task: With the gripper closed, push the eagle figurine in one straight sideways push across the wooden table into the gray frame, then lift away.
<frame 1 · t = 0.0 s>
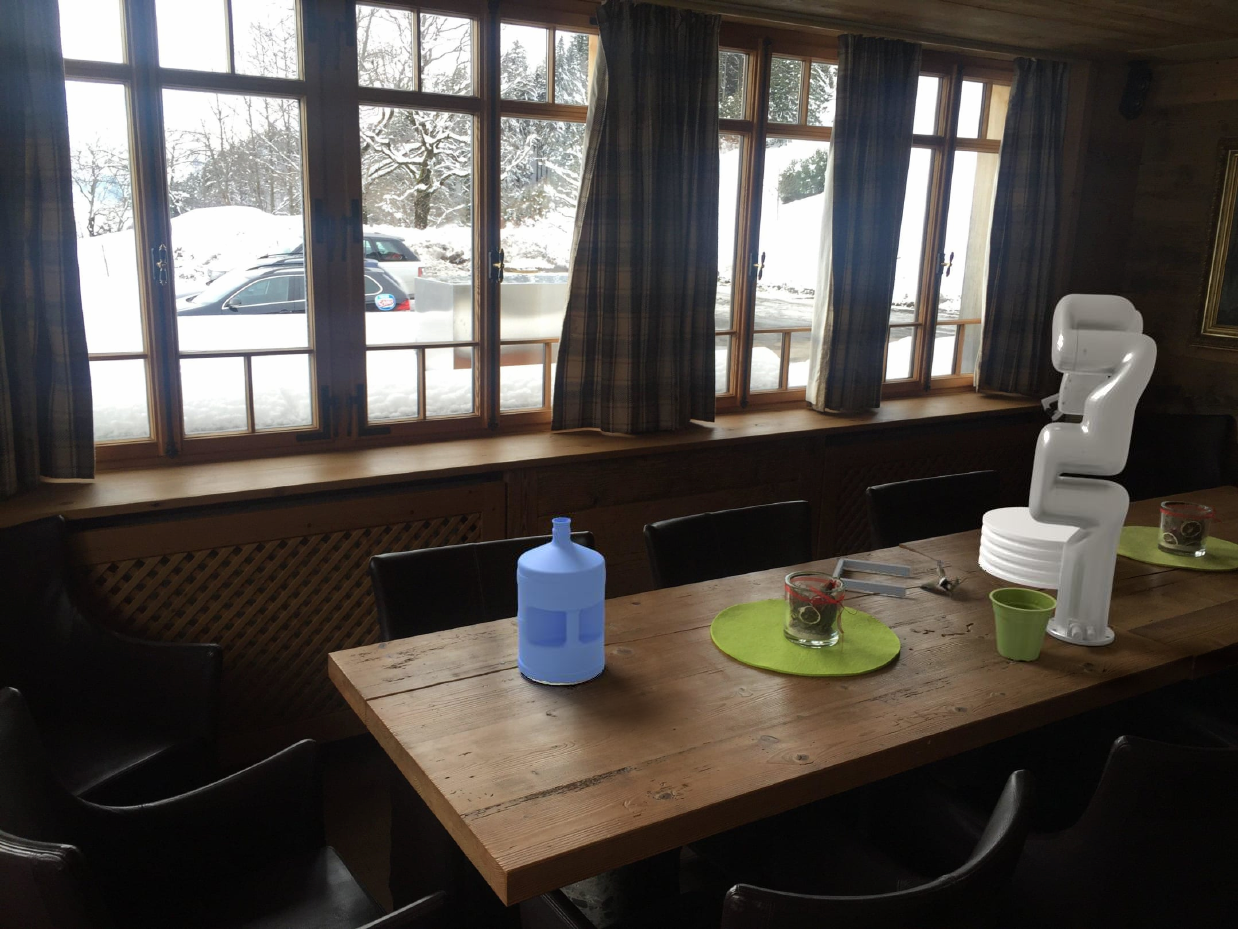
hand: (1077, 437, 234), 31 cm above the table, tool pointing down, fingers open, 9 cm apart
plate stack: (1040, 570, 238), on the table
gray frame: (870, 582, 227), on the table
water jug: (561, 670, 181), on the table
plant pot: (1016, 655, 190), on the table
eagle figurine: (939, 592, 222), on the table
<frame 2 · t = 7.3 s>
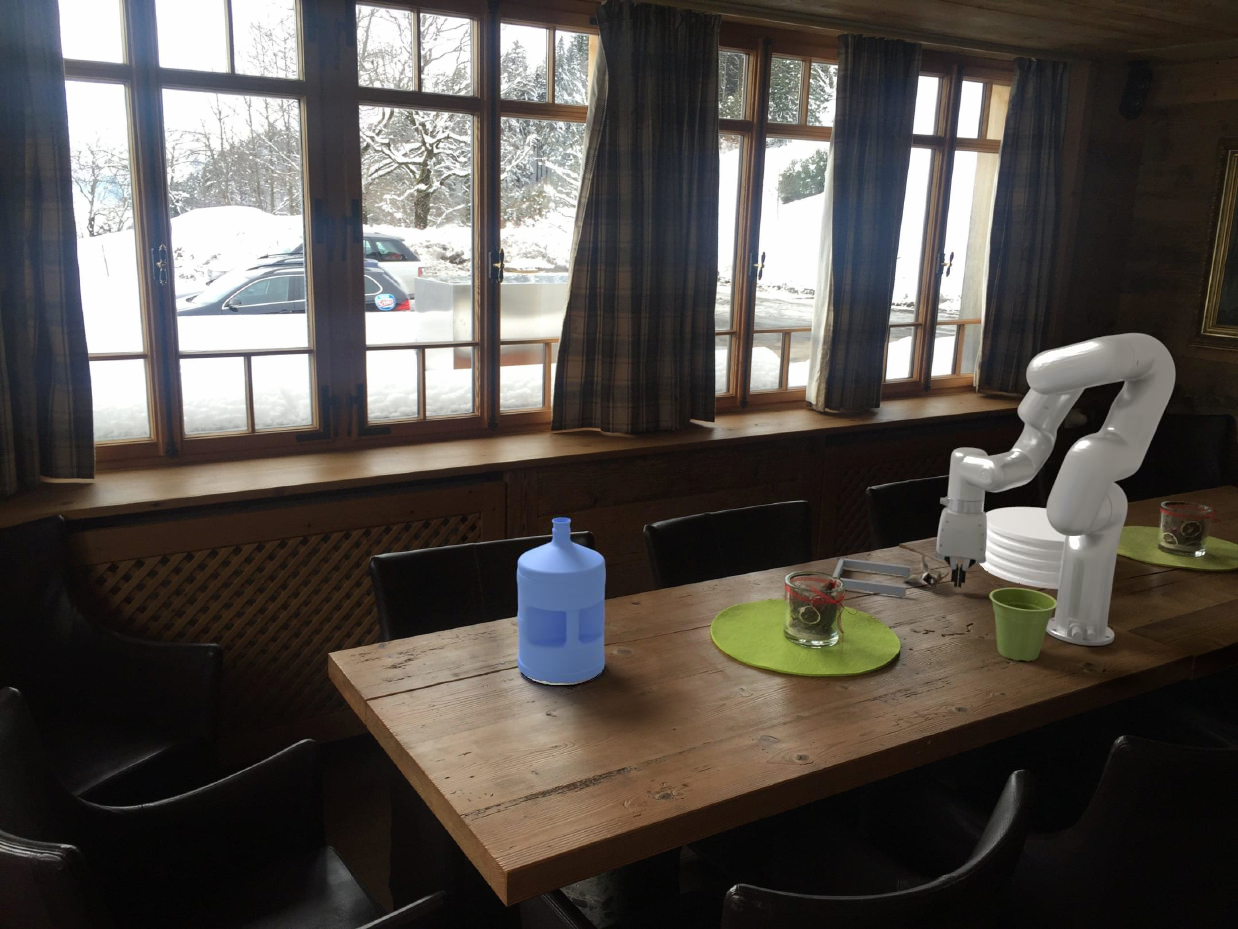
hand: (957, 585, 220), 2 cm above the table, tool pointing down, fingers closed
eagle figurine: (922, 587, 225), on the table, touching gripper
everything else where it was.
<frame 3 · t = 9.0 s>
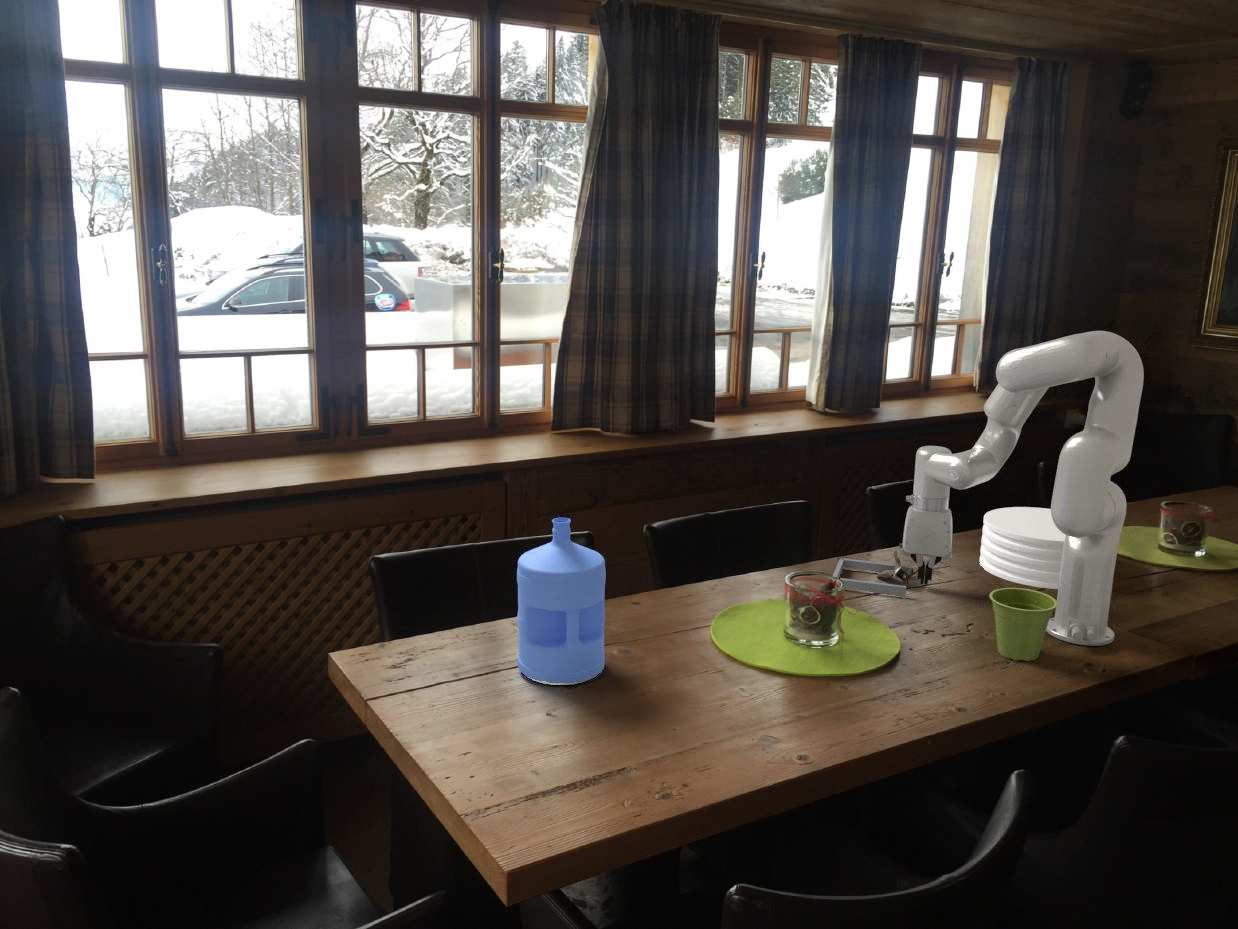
hand: (924, 582, 223), 2 cm above the table, tool pointing down, fingers closed
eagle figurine: (895, 582, 228), on the table, touching gripper
everything else where it was.
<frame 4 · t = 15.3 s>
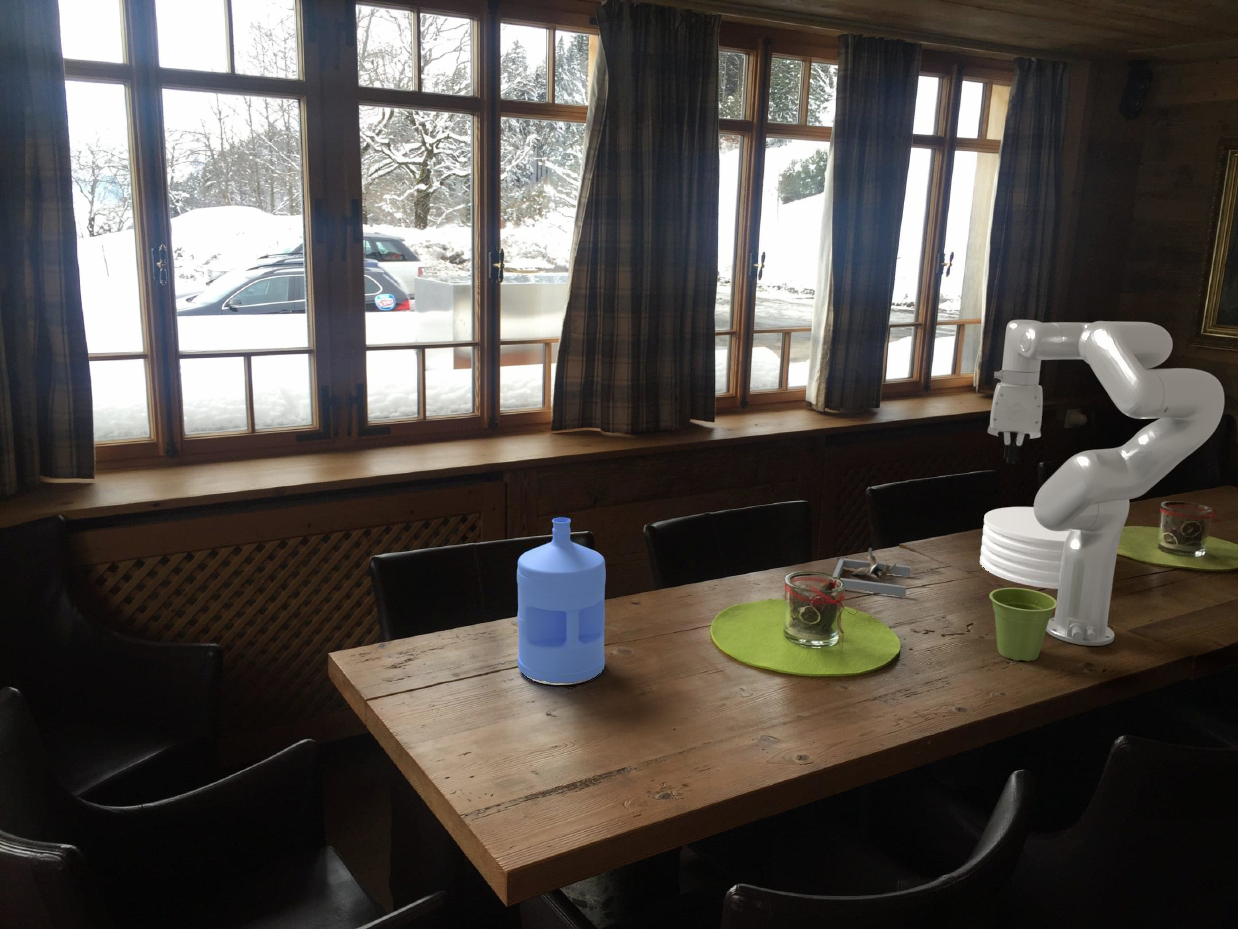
hand: (1010, 461, 218), 29 cm above the table, tool pointing down, fingers closed
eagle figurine: (870, 579, 230), on the table
everything else where it was.
at the end: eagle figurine inside the target area on the gray frame (3.2 cm from its centre), point 0.0 cm above the gray frame's base; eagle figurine tilted 0° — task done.
